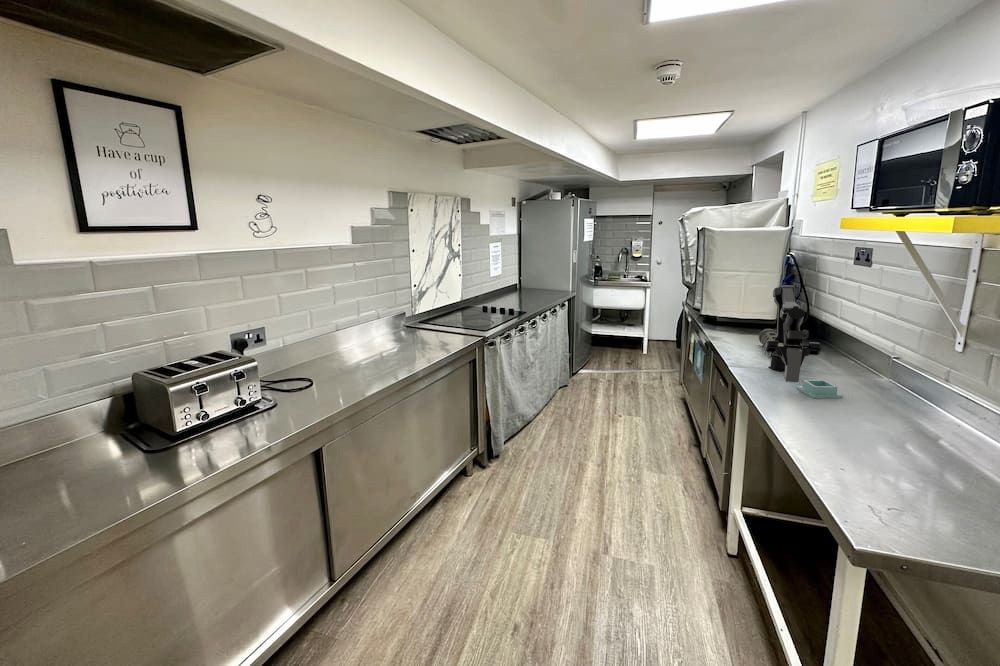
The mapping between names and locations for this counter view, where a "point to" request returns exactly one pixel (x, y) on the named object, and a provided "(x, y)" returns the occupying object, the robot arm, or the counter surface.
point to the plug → (793, 365)
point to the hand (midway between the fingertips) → (793, 365)
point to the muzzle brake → (767, 336)
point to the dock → (819, 389)
